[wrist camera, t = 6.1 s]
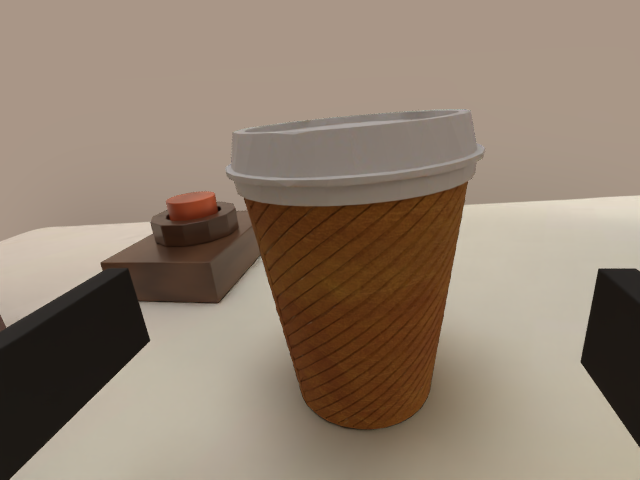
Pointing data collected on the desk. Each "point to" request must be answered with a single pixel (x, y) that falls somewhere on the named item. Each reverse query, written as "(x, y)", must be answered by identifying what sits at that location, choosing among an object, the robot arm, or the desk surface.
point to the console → (190, 256)
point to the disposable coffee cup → (359, 249)
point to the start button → (191, 206)
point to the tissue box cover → (2, 324)
